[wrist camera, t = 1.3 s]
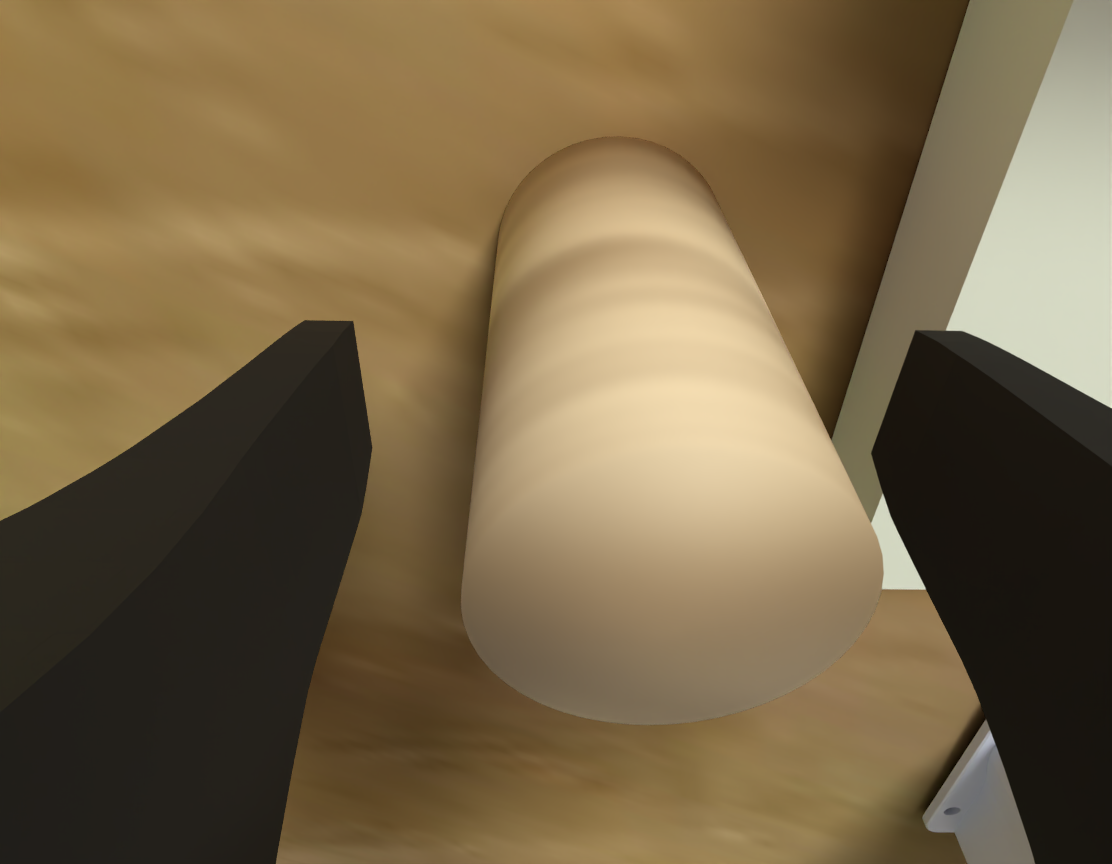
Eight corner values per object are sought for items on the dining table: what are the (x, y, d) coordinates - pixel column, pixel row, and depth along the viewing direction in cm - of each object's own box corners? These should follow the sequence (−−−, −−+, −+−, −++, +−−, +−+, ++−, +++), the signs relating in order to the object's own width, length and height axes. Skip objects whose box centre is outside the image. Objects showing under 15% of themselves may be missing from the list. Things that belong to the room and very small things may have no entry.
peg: (705, 349, 15) (824, 725, 9) (499, 346, 15) (468, 725, 9) (742, 139, 13) (945, 449, 6) (495, 133, 12) (449, 443, 6)
